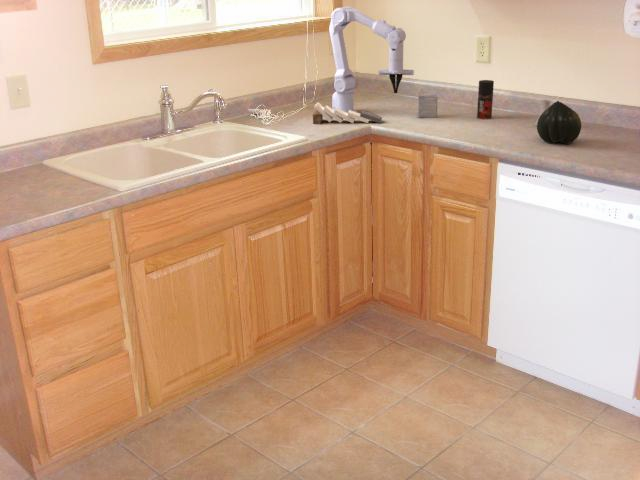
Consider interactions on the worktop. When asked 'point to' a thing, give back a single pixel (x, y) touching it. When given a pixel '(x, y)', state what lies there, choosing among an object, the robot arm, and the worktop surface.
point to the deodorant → (485, 99)
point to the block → (317, 117)
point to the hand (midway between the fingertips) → (395, 92)
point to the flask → (543, 108)
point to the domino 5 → (371, 116)
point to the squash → (559, 124)
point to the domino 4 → (357, 116)
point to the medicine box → (427, 105)
